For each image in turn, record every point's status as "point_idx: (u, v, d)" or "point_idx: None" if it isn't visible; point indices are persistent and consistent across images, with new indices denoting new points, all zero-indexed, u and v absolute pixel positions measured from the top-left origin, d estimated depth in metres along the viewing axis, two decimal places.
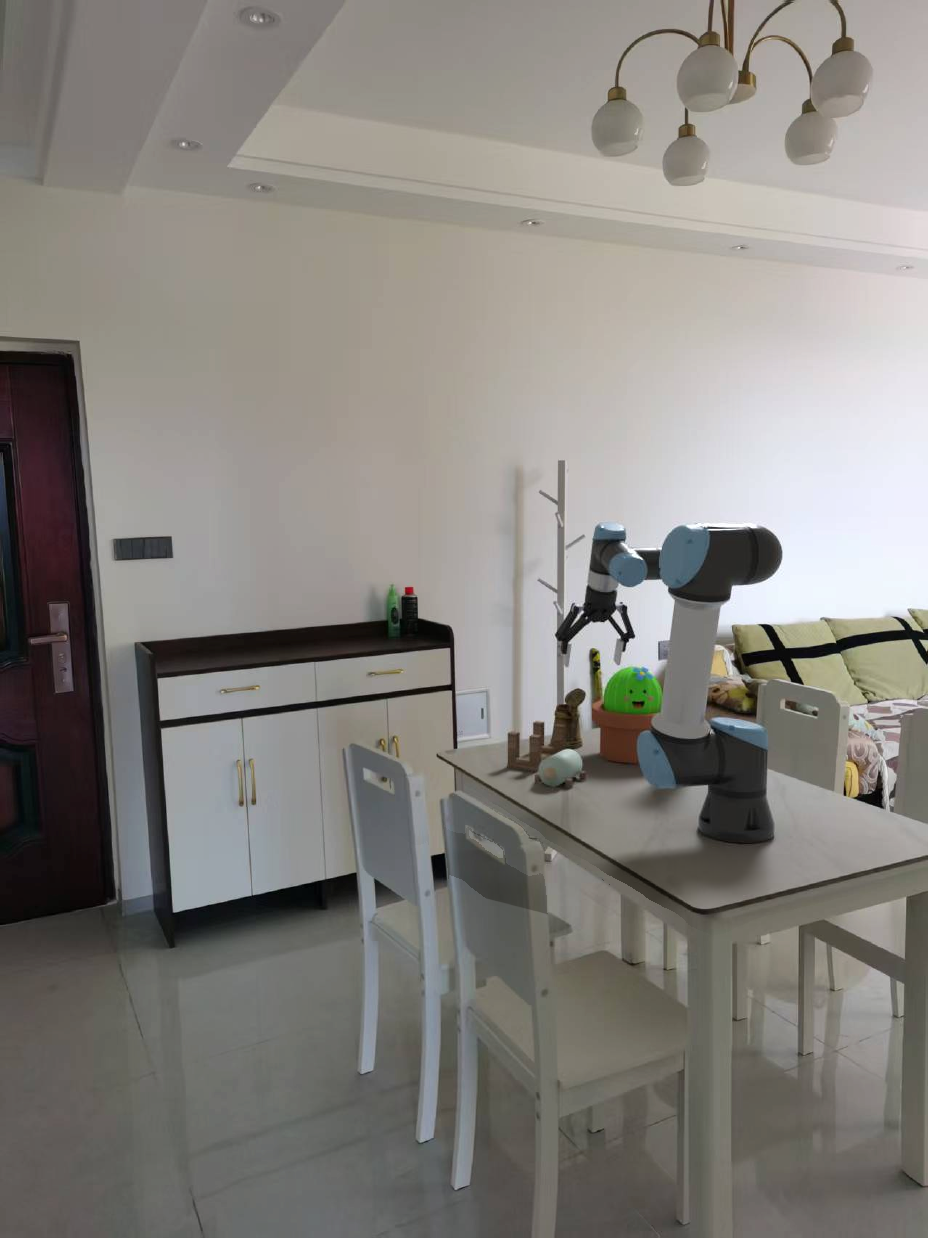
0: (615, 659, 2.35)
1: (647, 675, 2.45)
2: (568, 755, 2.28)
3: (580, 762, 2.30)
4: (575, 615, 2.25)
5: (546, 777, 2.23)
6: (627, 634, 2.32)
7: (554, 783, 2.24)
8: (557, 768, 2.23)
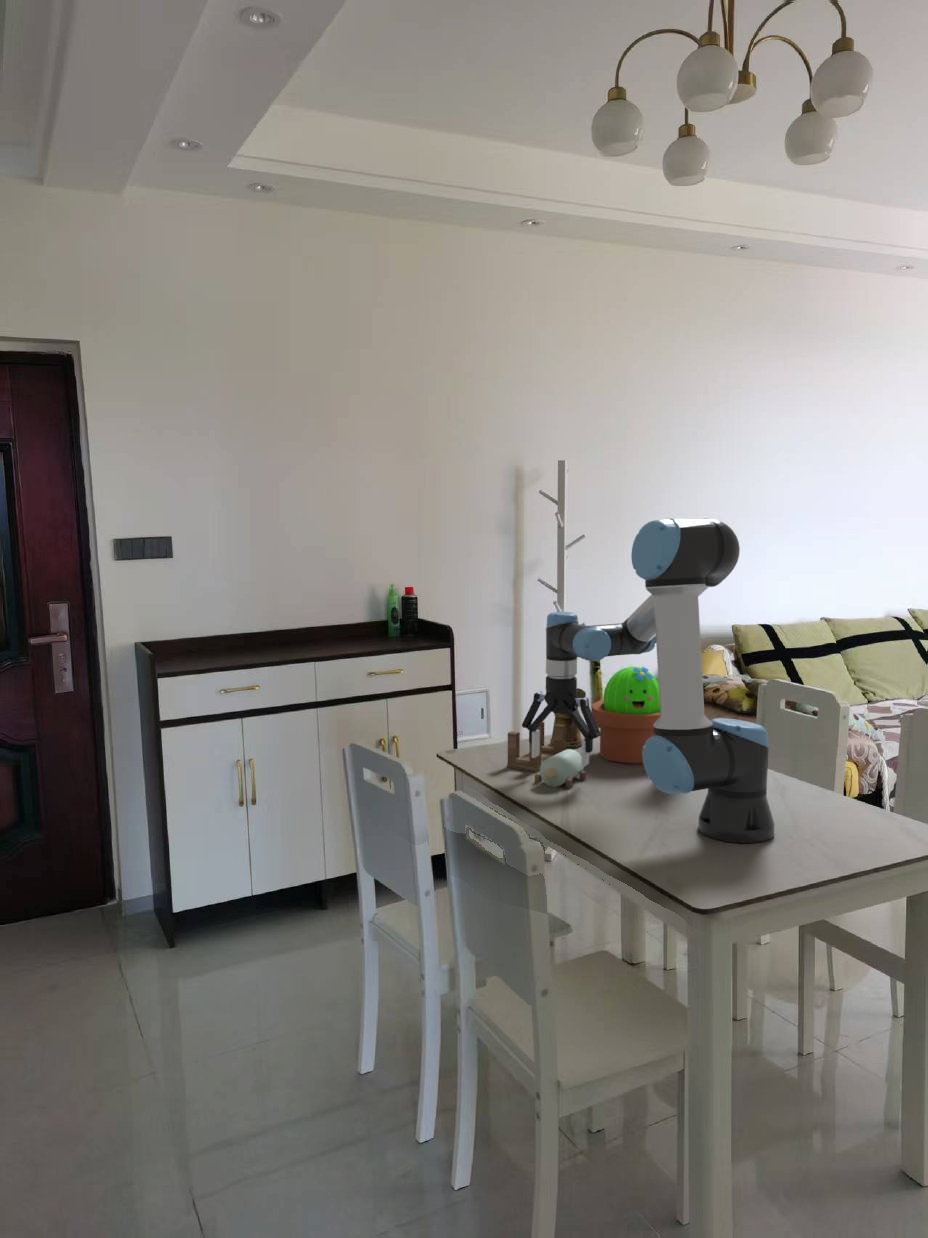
0: None
1: (647, 675, 2.45)
2: (571, 757, 2.28)
3: None
4: (535, 702, 2.29)
5: (547, 777, 2.23)
6: (591, 733, 2.23)
7: (555, 784, 2.24)
8: (559, 770, 2.23)
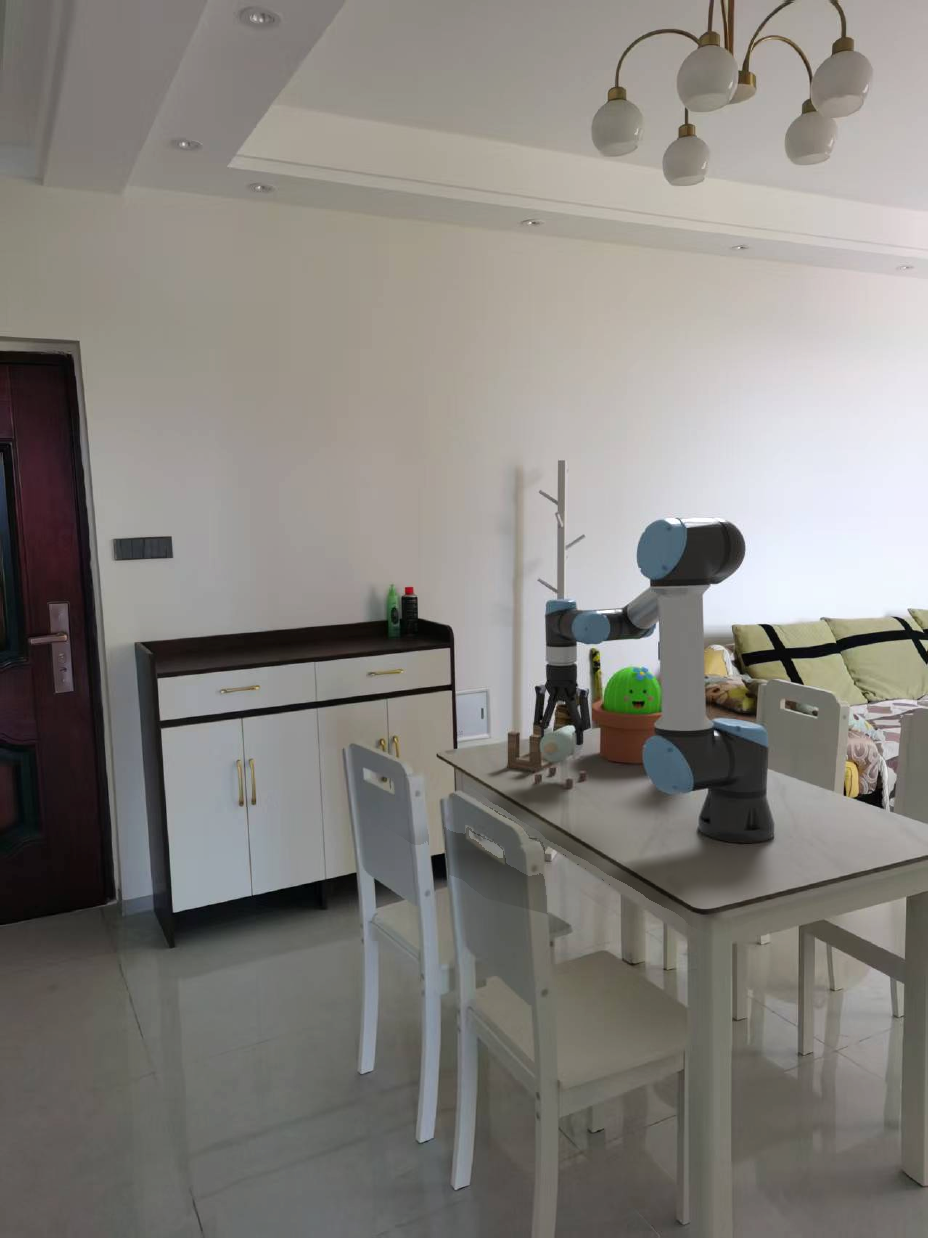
0: None
1: (647, 675, 2.45)
2: (569, 731, 2.27)
3: None
4: (538, 695, 2.28)
5: (548, 752, 2.22)
6: (581, 726, 2.24)
7: (556, 759, 2.23)
8: (558, 743, 2.22)
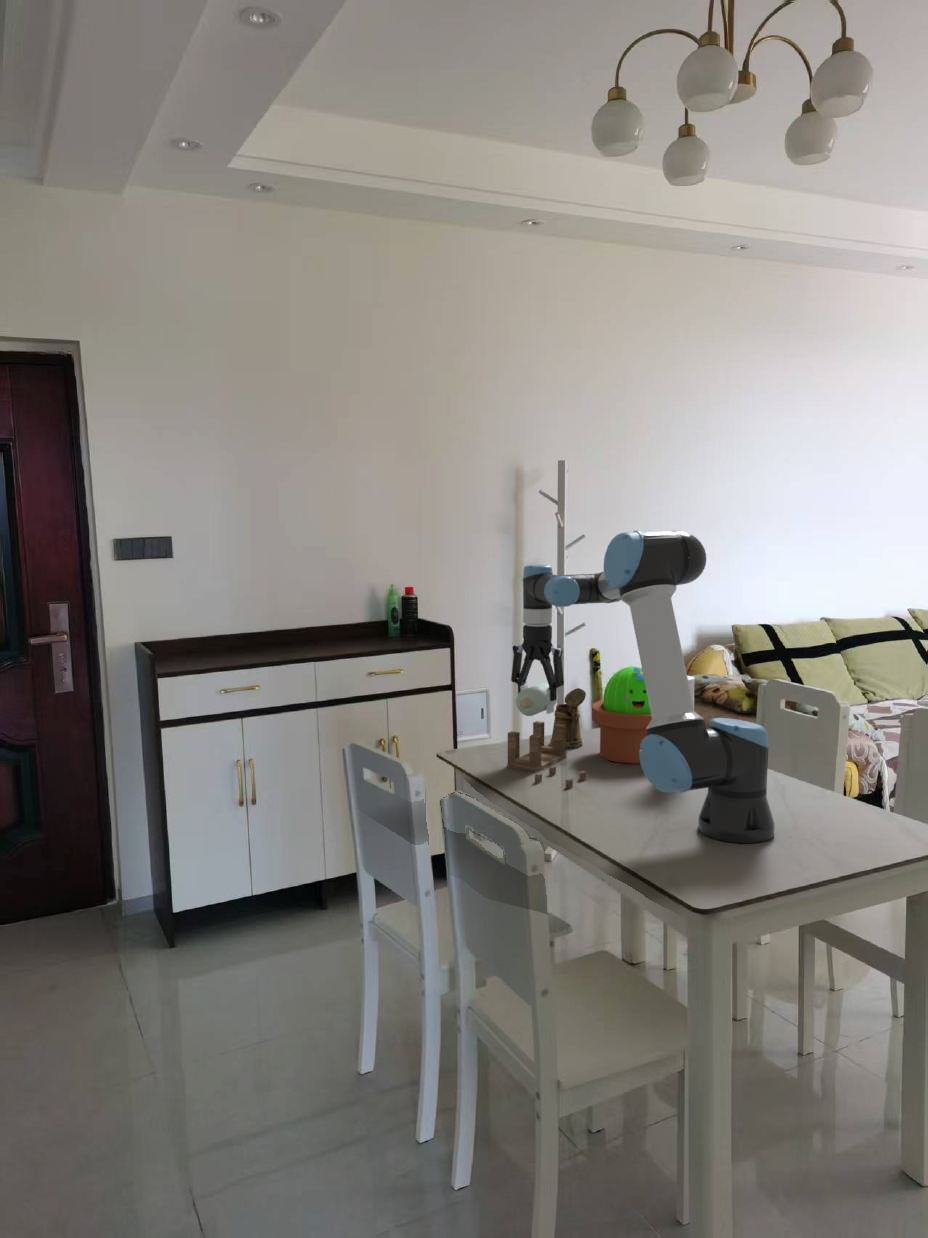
0: None
1: None
2: (544, 687, 2.43)
3: None
4: (516, 654, 2.45)
5: (523, 707, 2.38)
6: (555, 683, 2.40)
7: (531, 713, 2.40)
8: (533, 699, 2.39)
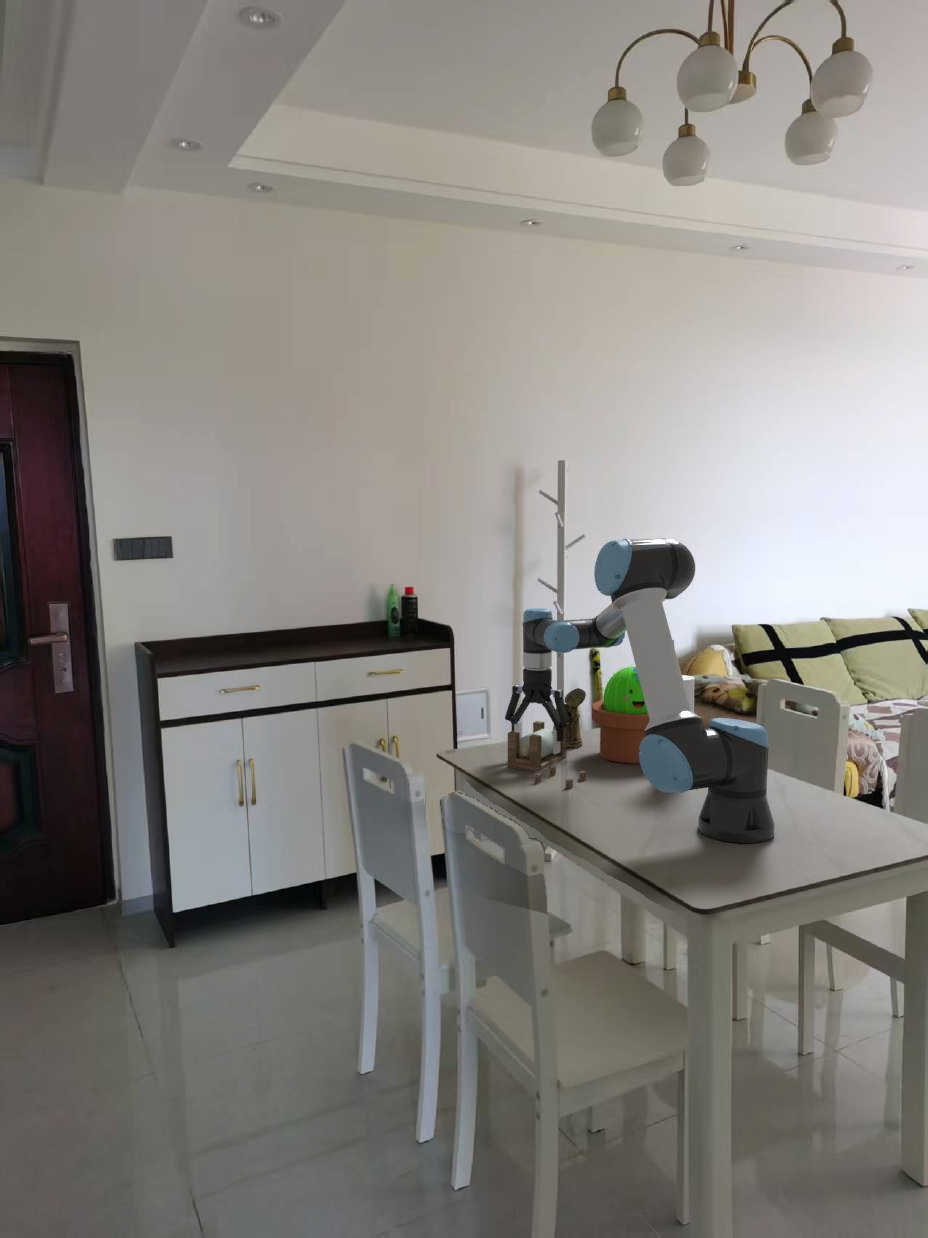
0: None
1: None
2: (544, 734, 2.45)
3: None
4: (514, 694, 2.46)
5: (523, 754, 2.40)
6: (561, 723, 2.40)
7: None
8: None
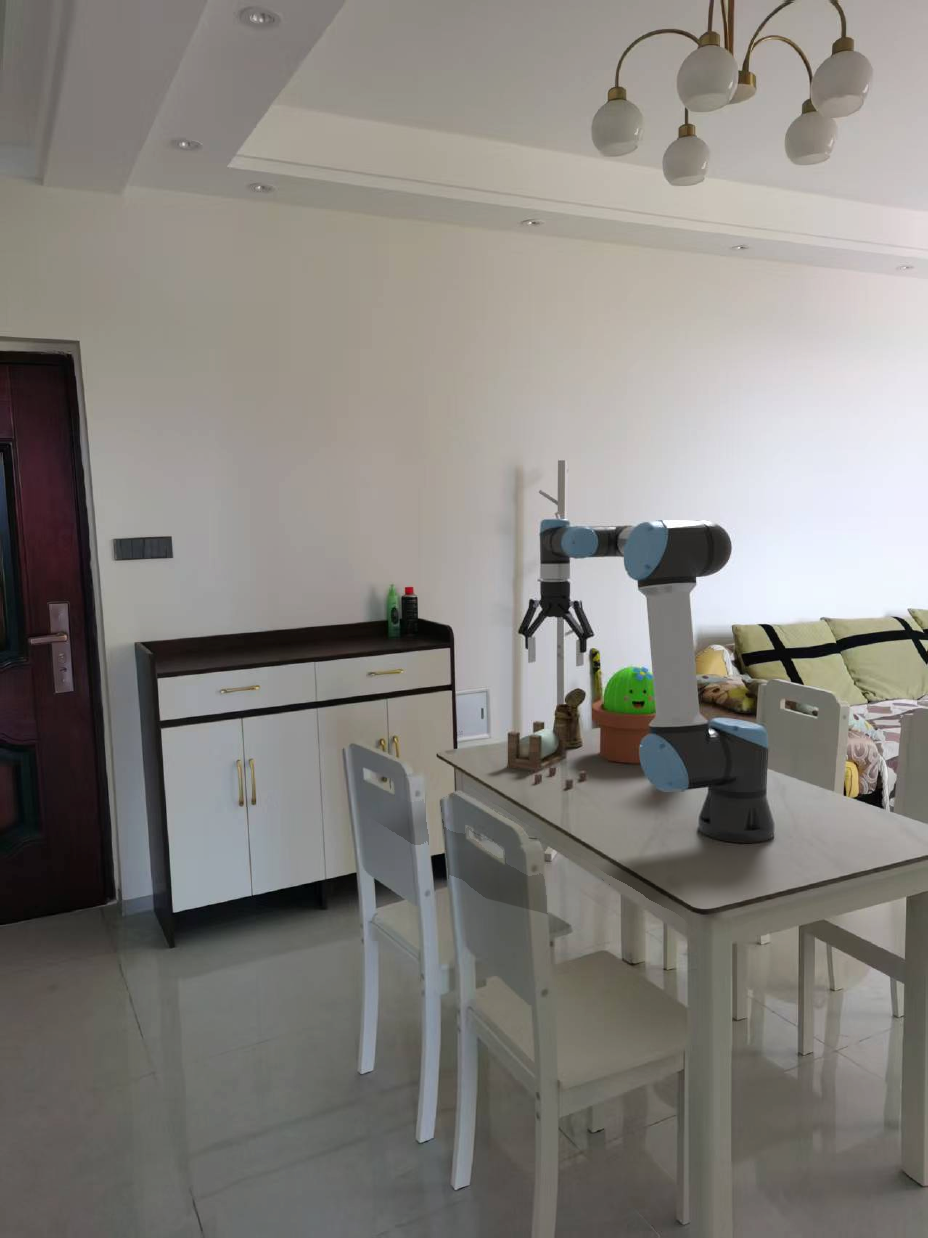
0: None
1: (647, 675, 2.45)
2: (546, 735, 2.45)
3: (556, 742, 2.47)
4: (530, 607, 2.38)
5: (524, 754, 2.40)
6: (584, 634, 2.31)
7: None
8: None
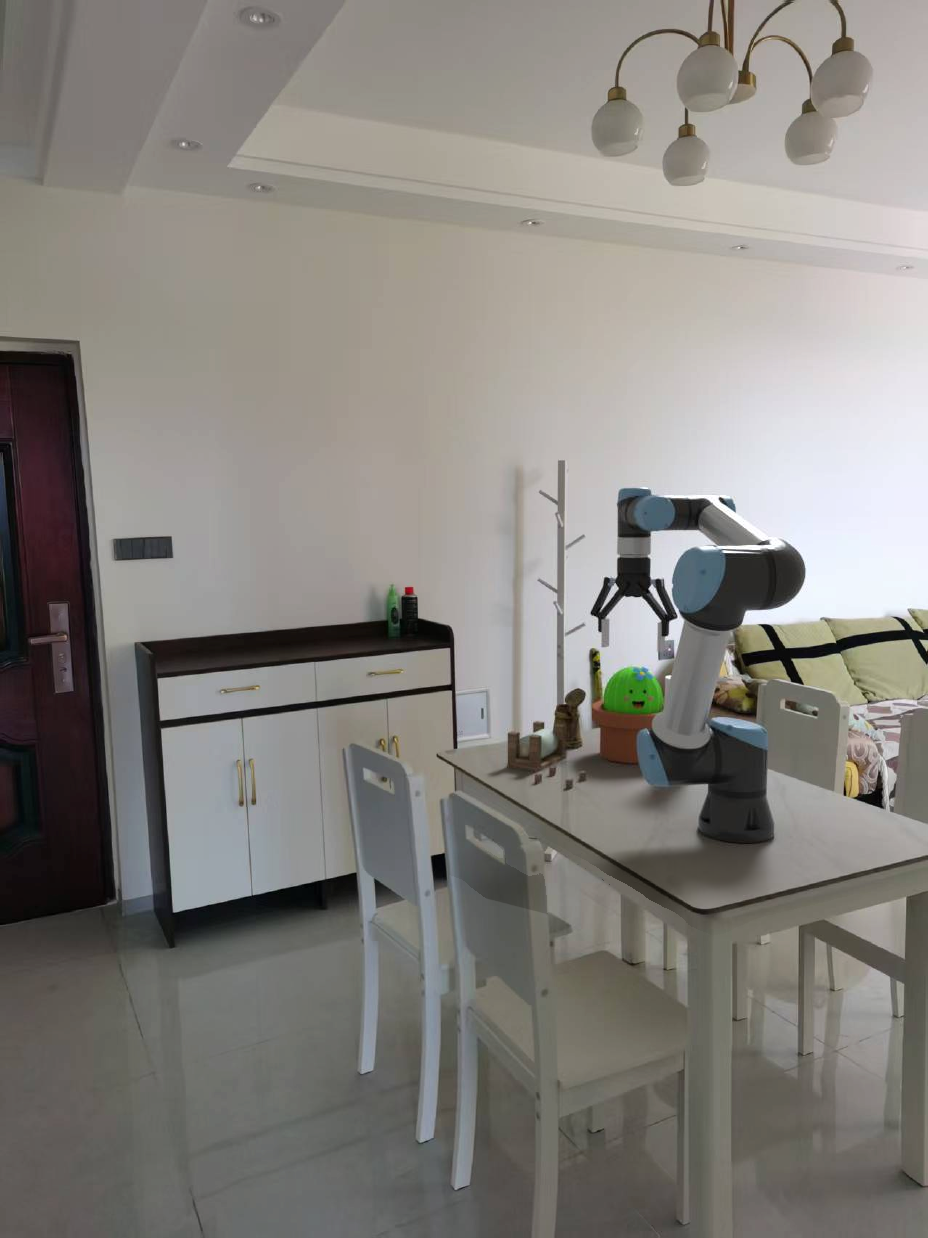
0: None
1: (647, 675, 2.45)
2: (544, 734, 2.45)
3: (556, 741, 2.47)
4: (605, 586, 2.15)
5: (523, 754, 2.40)
6: (667, 615, 2.08)
7: None
8: None
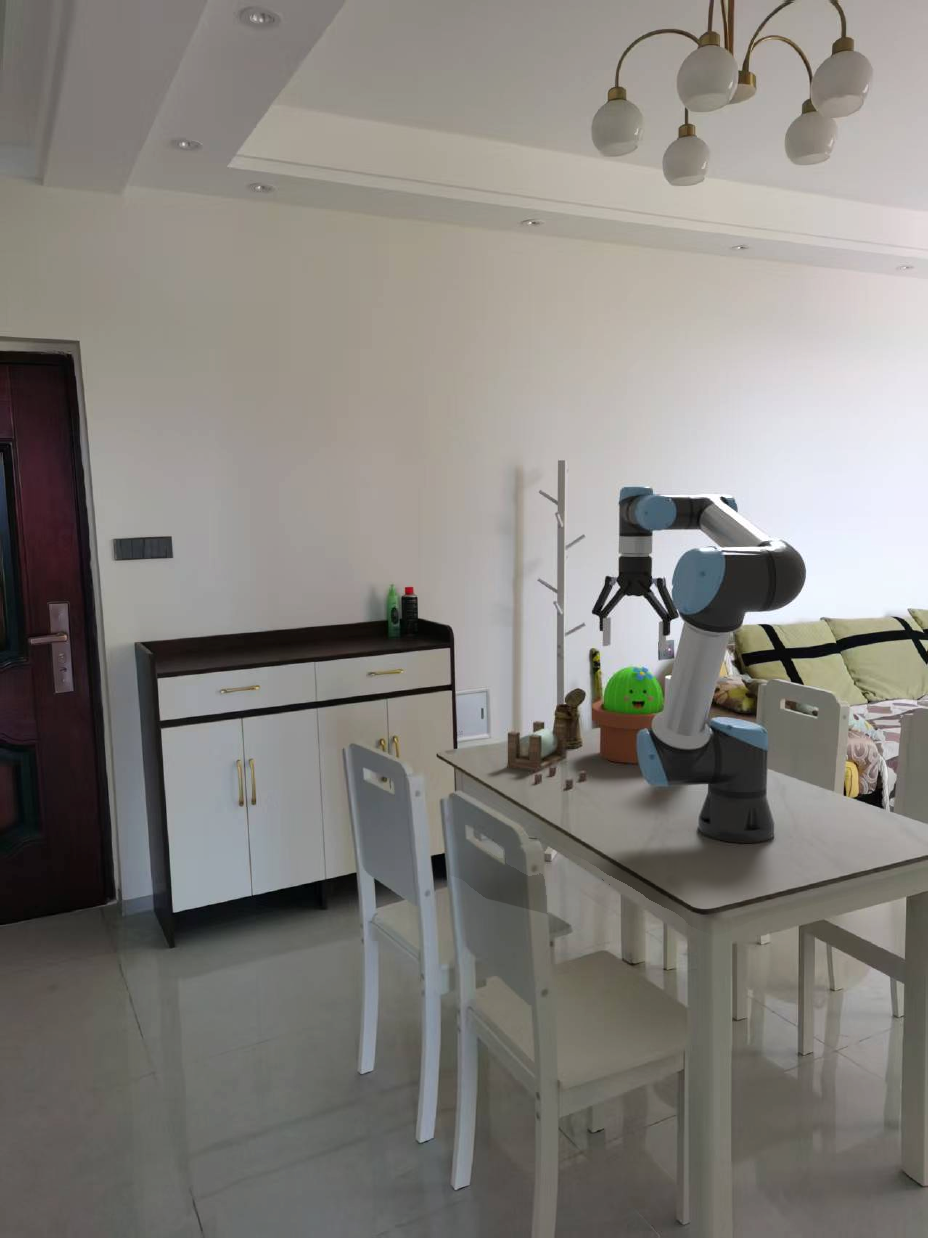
0: None
1: (647, 675, 2.45)
2: (544, 734, 2.45)
3: (555, 740, 2.47)
4: (606, 585, 2.15)
5: (523, 754, 2.40)
6: (669, 615, 2.08)
7: None
8: None
